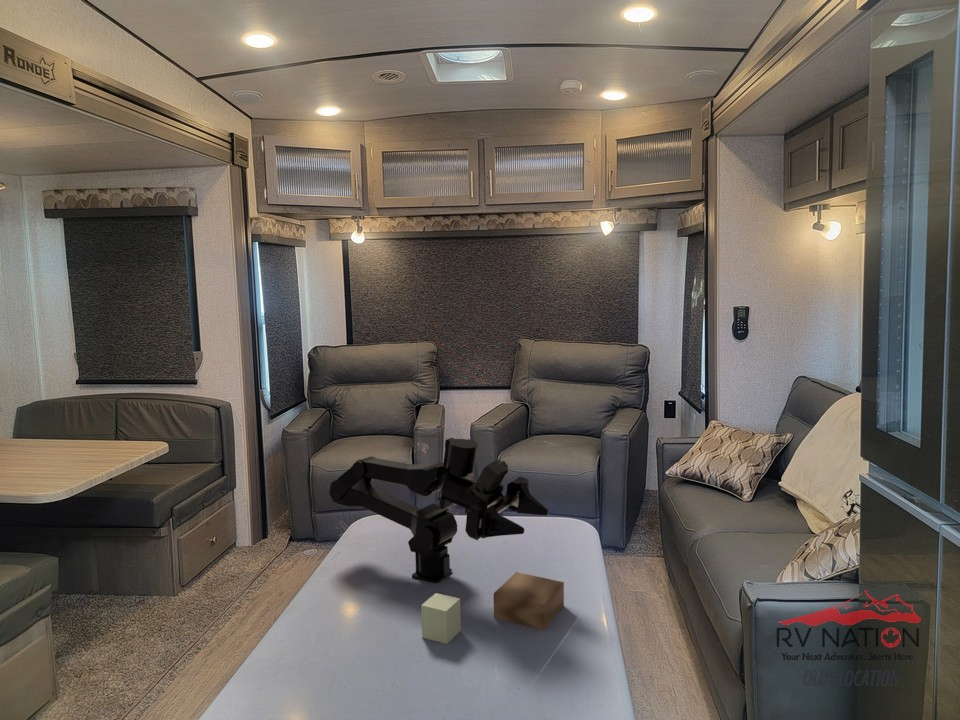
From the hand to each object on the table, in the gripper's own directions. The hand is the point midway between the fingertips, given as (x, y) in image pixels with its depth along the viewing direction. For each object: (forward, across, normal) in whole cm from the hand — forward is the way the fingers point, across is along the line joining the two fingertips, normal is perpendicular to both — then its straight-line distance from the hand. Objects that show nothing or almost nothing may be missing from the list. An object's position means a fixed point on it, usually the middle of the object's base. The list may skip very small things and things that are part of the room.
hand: (536, 521), depth 125 cm
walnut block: (+3, -4, +16) cm, 17 cm away
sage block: (-6, -20, +16) cm, 26 cm away
